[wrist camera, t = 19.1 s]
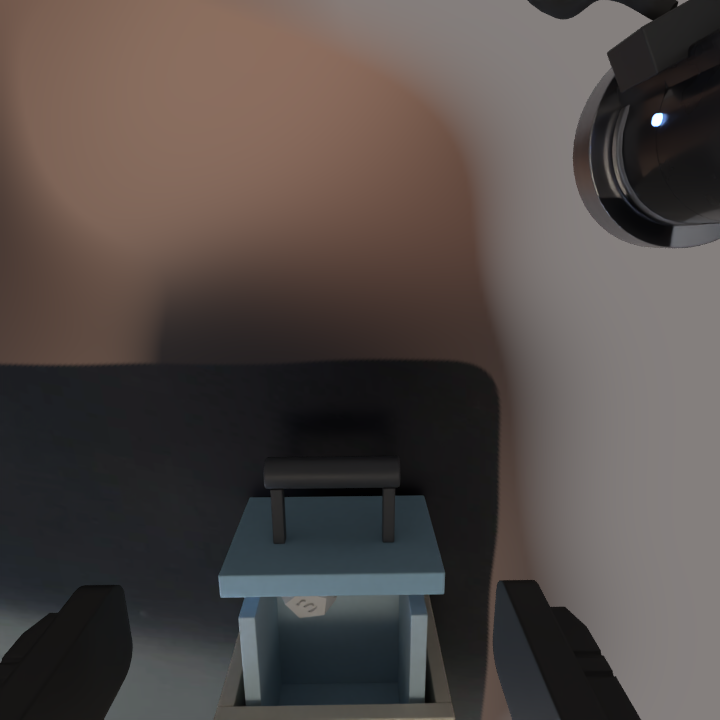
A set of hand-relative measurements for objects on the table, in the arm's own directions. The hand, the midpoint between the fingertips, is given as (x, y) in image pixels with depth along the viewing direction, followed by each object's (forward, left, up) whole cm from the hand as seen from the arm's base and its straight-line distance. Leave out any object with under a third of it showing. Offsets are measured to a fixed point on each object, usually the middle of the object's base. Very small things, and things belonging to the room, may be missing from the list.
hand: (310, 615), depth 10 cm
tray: (+10, -6, -17) cm, 20 cm away
